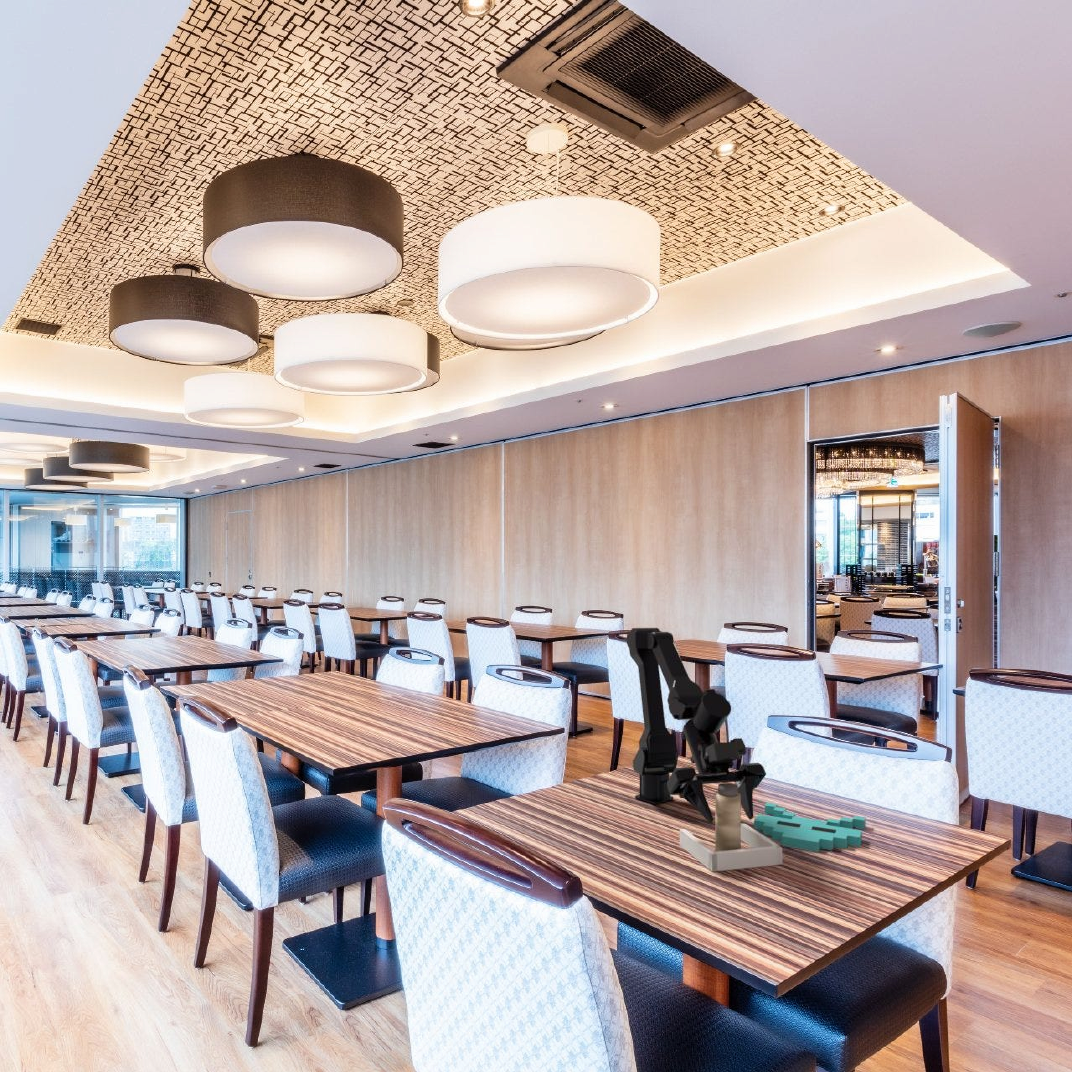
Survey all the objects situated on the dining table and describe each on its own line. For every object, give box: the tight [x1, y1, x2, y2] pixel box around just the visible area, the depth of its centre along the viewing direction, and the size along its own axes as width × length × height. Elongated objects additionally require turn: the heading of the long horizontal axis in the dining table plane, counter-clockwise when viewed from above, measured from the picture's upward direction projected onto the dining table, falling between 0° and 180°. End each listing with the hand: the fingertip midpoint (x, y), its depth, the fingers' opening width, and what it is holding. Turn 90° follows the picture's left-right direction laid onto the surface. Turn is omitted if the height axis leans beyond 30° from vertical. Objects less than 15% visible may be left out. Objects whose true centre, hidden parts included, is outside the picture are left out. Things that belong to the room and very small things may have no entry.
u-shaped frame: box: [679, 823, 783, 873], centre depth 142 cm, size 13×14×3 cm
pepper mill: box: [714, 782, 742, 852], centre depth 143 cm, size 5×5×12 cm
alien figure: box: [753, 802, 867, 853], centre depth 154 cm, size 20×2×20 cm
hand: (731, 820), depth 141 cm, fingers open, 8 cm apart
